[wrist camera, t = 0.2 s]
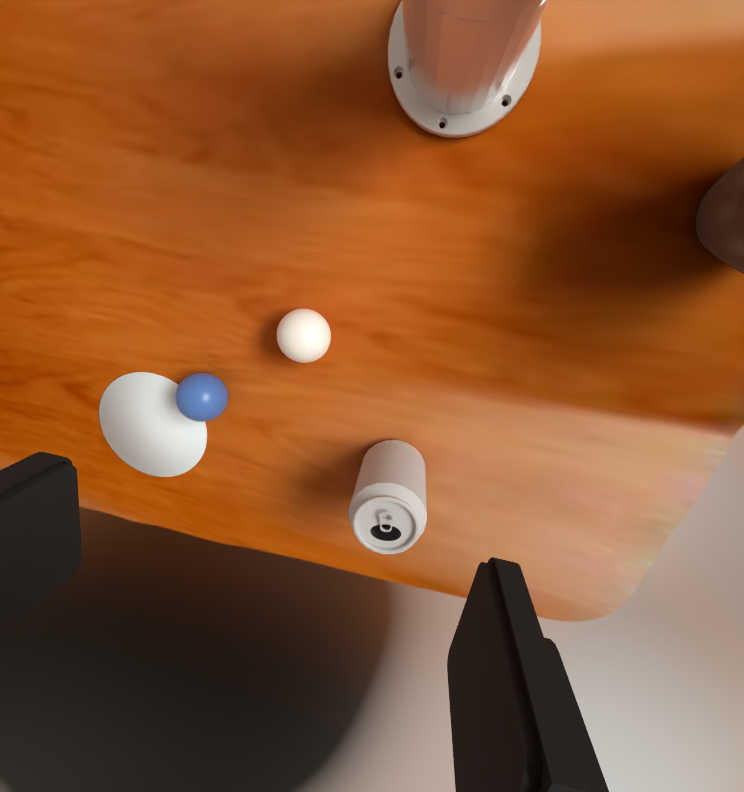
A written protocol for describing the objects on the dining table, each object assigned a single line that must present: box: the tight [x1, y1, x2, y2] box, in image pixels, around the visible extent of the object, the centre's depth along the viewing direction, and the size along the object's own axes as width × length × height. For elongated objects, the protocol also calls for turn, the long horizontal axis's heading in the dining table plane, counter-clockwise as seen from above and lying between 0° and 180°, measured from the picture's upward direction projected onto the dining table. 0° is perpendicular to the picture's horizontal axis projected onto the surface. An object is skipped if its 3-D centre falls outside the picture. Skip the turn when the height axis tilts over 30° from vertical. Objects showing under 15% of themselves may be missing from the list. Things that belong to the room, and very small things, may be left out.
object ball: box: [175, 373, 228, 422], centre depth 45 cm, size 6×6×6 cm
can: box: [348, 440, 427, 554], centre depth 42 cm, size 8×8×12 cm
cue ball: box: [277, 309, 331, 363], centre depth 41 cm, size 6×6×6 cm
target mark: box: [99, 372, 207, 477], centre depth 50 cm, size 14×14×1 cm
